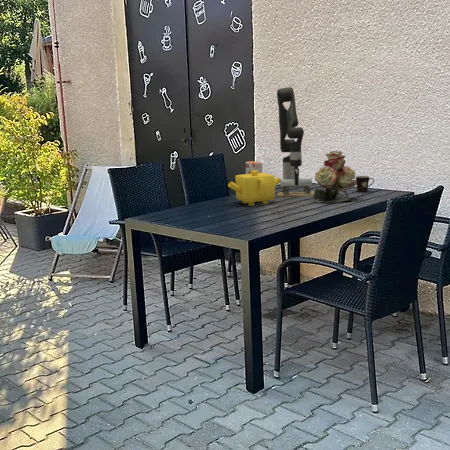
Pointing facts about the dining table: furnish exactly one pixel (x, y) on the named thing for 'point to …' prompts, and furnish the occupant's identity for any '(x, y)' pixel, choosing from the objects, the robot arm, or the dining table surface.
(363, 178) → the coffee mug
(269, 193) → the yellow boxy teapot
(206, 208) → the dining table surface
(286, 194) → the clip board
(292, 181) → the rod
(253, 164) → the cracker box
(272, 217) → the dining table surface
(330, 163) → the rose bouquet
